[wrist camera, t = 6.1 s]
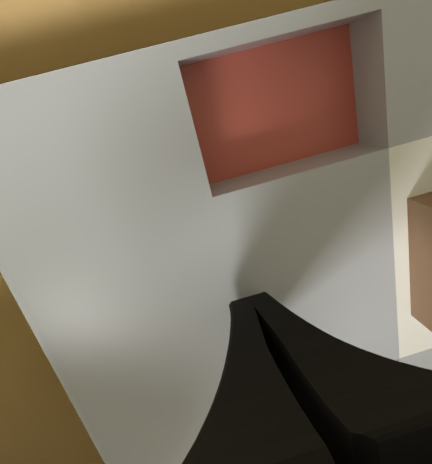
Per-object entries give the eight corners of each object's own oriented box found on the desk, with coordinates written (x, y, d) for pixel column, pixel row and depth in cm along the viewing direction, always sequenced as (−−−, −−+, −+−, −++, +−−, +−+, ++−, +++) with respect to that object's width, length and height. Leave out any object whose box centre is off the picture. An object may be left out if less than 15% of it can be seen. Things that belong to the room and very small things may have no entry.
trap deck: (534, -41, 12) (779, -137, 7) (499, 358, 18) (614, 443, 14) (-47, 106, 11) (-207, 106, 6) (138, 475, 17) (129, 611, 13)
